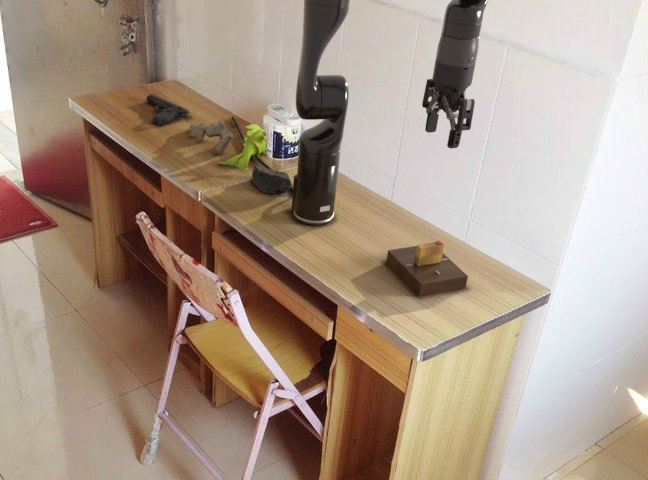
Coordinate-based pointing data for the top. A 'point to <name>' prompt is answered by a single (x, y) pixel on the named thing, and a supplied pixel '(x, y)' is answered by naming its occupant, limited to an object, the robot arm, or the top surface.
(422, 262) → the red-tipped tan block
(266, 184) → the rock
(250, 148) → the toy
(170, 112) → the handgun
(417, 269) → the lock plate
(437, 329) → the top surface
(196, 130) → the grey lumpy bent piece
